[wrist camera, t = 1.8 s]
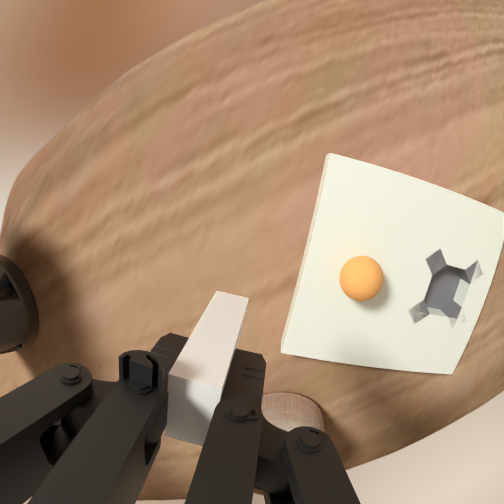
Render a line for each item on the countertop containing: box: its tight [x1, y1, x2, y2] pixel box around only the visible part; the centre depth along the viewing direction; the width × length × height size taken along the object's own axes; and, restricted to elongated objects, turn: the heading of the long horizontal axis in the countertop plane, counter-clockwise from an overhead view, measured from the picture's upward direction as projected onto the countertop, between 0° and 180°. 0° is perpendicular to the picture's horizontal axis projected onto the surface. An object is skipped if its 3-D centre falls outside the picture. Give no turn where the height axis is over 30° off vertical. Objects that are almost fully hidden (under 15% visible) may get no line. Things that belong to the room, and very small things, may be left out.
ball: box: [339, 256, 384, 301], centre depth 26 cm, size 4×4×4 cm
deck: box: [281, 153, 504, 374], centre depth 29 cm, size 22×20×2 cm
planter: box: [253, 392, 325, 495], centre depth 31 cm, size 11×11×10 cm
